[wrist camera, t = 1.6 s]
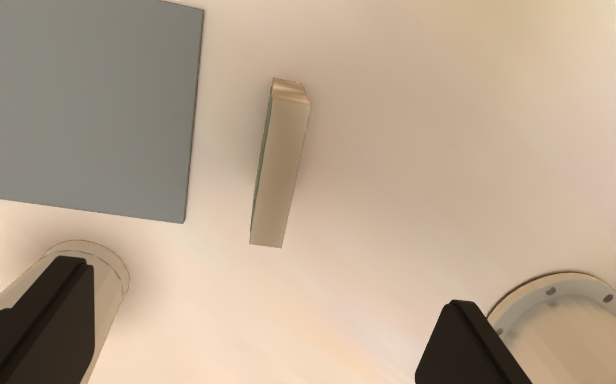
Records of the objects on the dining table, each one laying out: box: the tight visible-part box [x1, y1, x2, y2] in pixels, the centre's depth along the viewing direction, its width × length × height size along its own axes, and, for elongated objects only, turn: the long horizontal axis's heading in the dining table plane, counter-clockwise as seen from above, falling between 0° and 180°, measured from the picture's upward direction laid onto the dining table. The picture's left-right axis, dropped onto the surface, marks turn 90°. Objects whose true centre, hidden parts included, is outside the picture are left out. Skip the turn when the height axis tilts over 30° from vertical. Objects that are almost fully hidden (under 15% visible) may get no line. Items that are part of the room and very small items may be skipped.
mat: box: [0, 0, 204, 224], centre depth 24 cm, size 15×14×1 cm
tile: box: [249, 78, 311, 248], centre depth 23 cm, size 2×8×7 cm, turn 168°
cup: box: [0, 240, 129, 384], centre depth 24 cm, size 8×8×12 cm
